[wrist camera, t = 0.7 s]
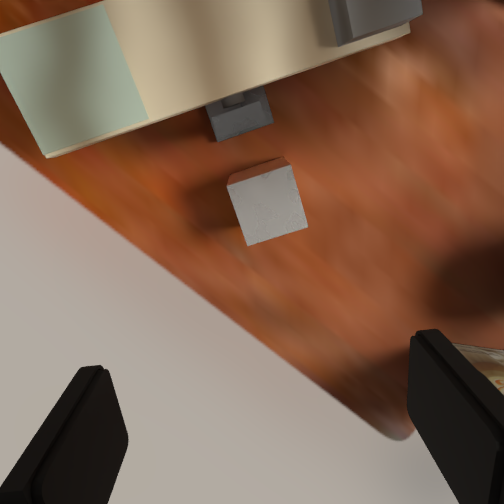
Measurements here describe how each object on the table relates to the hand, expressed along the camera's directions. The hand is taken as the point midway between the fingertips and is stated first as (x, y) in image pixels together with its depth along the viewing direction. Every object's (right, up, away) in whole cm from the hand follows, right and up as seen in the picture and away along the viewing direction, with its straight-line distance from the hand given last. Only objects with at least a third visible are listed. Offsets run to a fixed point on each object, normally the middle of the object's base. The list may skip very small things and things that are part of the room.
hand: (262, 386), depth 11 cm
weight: (+1, +10, +22) cm, 24 cm away
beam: (-3, +16, +10) cm, 19 cm away
